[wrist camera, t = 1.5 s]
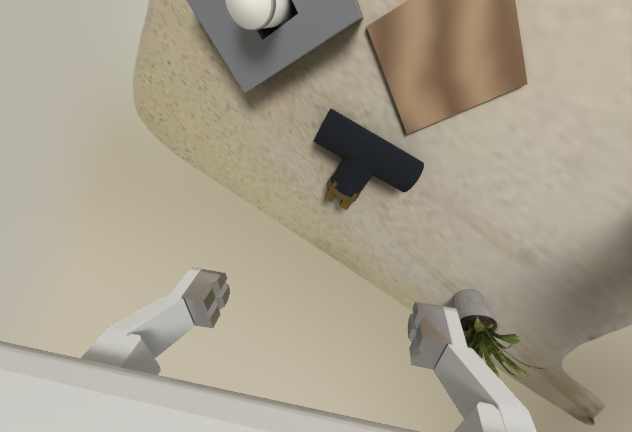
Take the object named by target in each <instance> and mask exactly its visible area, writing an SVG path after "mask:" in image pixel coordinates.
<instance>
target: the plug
mask: <svg viewBox="0 0 632 432" xmlns="http://www.w3.org/2000/svg"><path fill="white" fill-rule="evenodd" d="M225 1H226V6H227V9H228V11H229V13H230V15H231V17H232V19H233V20H234V21H235V22H236V23H237V24H238V25H239V26H241V27H242V28H244V29H247V30H258V29H262V28H271V27H280V26H282V25H283V24H285V23H286V22H288V21H289V20H290V19H292V18H293V17H294V16H296V15H297V14H298V12H297V10H296V7H295V5H294V3H293V1H292V0H225Z"/></svg>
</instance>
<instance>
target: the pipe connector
mask: <svg viewBox="0 0 632 432" xmlns="http://www.w3.org/2000/svg"><path fill="white" fill-rule="evenodd" d="M313 142H315V143H317V144H319V145H320V146H322V147H324V148H326V149H327V150H329V151H331V152H333V153H335V154H336V155H338V156H340V157H342V158H343V160H342V161H341V163H340V165H339V166H338V168H337V170H336V171H335V173H334V174H333V176H331V177H330V179H329V181H328V182H327V186H328V191H327V193H326V195H325V198H326V199H328V200H330V201H331V202H332V201H333V200H334V198H335V197H337V198H339V199H341V202H340V206H341V207H342V208H344V209H346V210H347V209H348V208H349V206H350V205H351V204H352V202H354V201H355V200H356V199H357V198H358V196H359V193H360V192H361V191H362V189H363V188H364V187H365V185H366V184H367V182H368V181H369V180H370V178H371V177H372V176H375V177H377V178H379V179H380V180H382V181H384V182H386V183H388V184H389V185H391V186H393V187H395V188H396V189H398V190H400V191H402V192H406V191H408V190H409V189H411V188H412V187H413V186H414V184H415V183H416V182H417V180H418V179H419V177H420V175H421V173H422V171H423V168H424V163H423V162H422V161H420V160H418V159H416V158H415V157H413V156H411V155H410V154H408V153H406V152H405V151H403V150H401V149H399V148H398V147H396V146H394V145H393V144H391V143H389V142H387V141H386V140H384V139H382V138H381V137H379V136H377V135H375V134H374V133H372V132H370V131H369V130H367V129H365V128H364V127H362V126H360V125H358V124H357V123H355V122H353V121H352V120H350V119H348V118H346V117H345V116H343V115H341V114H340V113H338V112H336V111H335V110H333V109H330V110H329V112H328V114H327V116H326V118H325V119H324V121H323V123H322V125H321V127H320V129H319V131H318V133H317V135H316V137H315V139H314V141H313Z"/></svg>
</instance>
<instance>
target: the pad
mask: <svg viewBox="0 0 632 432" xmlns="http://www.w3.org/2000/svg"><path fill="white" fill-rule="evenodd" d="M367 29H368V32H369V35H370V37H371V40H372V43H373V45H374V48H375V51H376V53H377V56H378V59H379V61H380V64H381V67H382V69H383V72H384V75H385V77H386V80H387V83H388V85H389V88H390V91H391V93H392V96H393V99H394V101H395V104H396V107H397V109H398V112H399V115H400V117H401V120H402V123H403V125H404V128H405V131H406V133H407V134H409V133H412V132H414V131H416V130H419V129H421V128H424V127H426V126H428V125H431V124H433V123H435V122H438V121H440V120H443V119H445V118H447V117H450V116H452V115H455V114H457V113H459V112H462V111H464V110H466V109H469V108H471V107H474V106H476V105H478V104H481V103H483V102H486V101H488V100H490V99H493V98H495V97H497V96H500V95H502V94H505V93H507V92H509V91H512V90H514V89H516V88H519V87H521V86H524V85H526V84H527V78H526V71H525V64H524V57H523V51H522V44H521V37H520V30H519V23H518V17H517V10H516V3H515V0H408V1H406V2H405V3H403V4H402V5H400V6H399V7H397V8H395V9H394V10H392V11H391V12H389V13H387V14H386V15H384V16H383V17H381V18H380V19H378V20H376V21H375V22H373V23H372V24H370V25H368V26H367Z"/></svg>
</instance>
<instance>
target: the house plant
mask: <svg viewBox="0 0 632 432" xmlns="http://www.w3.org/2000/svg"><path fill="white" fill-rule="evenodd" d="M454 308H455V309H456V310H457V312H458V315H459V319H460V322H461V326H462V329H463V333H464V336H465V335H466V336H465V340H466V343H467V347H468V348H472V349H473V350H474V351H475V352H476V353H477V354H478V356H479V357H480V358H481V359H482V355H483V352H484V356H485V360H486V364H487V365H488V367H489V368H490V369H491V370H492V371H493V372H494V373H495V374H496V375H497V377H498V378H499V374H498V372H497V370H496V368H495V366H494V364H493V361H492V358H491V355H490V353H492V354H493V355H494V357H495V358H496V359H497V360H498V361H499V362H500V363H501V365H502V366H503V367H504V368H505V369H506V370H507V371H508V372H509V373H510V374H512V375H514V374H513V373H511V372H510V371H509V370H508V369H507V368H506V367H505V366H504V365H503V363H502V362H506V363H507V364H508V365H509V366H510V367H512V368H513V369H514V370H516V371H517V372H518V373H520V374H522V375H525V374H528V373H526V372H525V371H524V370H522V369H520V368H519V367H518V366H517V365H516V364H515V363H514V362H512V361H511V360H510V359H508V358H507V357H506V356H505V355H504V354H503V353H502V351H503V349H506V347H504V346H502V345H501V344H500V343H499V342H498V341H497V340H496V339H495V338H494V337H496V338H499V339H501V340H503V341H506V342H508V343H517V342H518V341H519V340H520V338H521V336H516V334H511V335H498V334H496V333H495V332H496V331H497V329H498V327H499V323H498V322H497V320H496V318H495V316H494V315H493V313H492V311H491V309H490V308H489V306H488V304H487V302H486V301H485V299H484V297H483V295H482V294H481V293H480V292H478V291H476V290H470V289H469V290H462V291H460V292H458V293H456V295H455V296H454ZM492 335H493V336H494V337H493V336H492ZM492 341H493V342H494V343H495V344H496V345H497V346H499V347H500V348H501V350H500V349H499V348H498V347H497V346H496V345H495V344H494V343H493V342H492ZM510 347H511V345H510V346H509V347H508V348H510ZM482 348H483V350H482ZM505 352H506V351H505ZM506 353H507V352H506ZM509 355H510V354H509ZM510 356H511V355H510ZM513 358H514V357H513ZM514 359H515V358H514ZM516 360H517V359H516ZM517 361H518V360H517ZM519 362H520V361H519ZM520 363H522V362H520ZM522 364H524V363H522ZM524 365H526V364H524ZM526 366H528V367H531V368H535V369H552V368H538V367H532V366H529V365H526ZM521 372H522V373H521ZM523 373H525V374H523ZM528 375H529V374H528ZM514 376H516V375H514ZM525 376H527V375H525ZM516 377H518V376H516ZM518 378H520V377H518ZM499 379H500V378H499ZM522 379H523V378H522Z"/></svg>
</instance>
